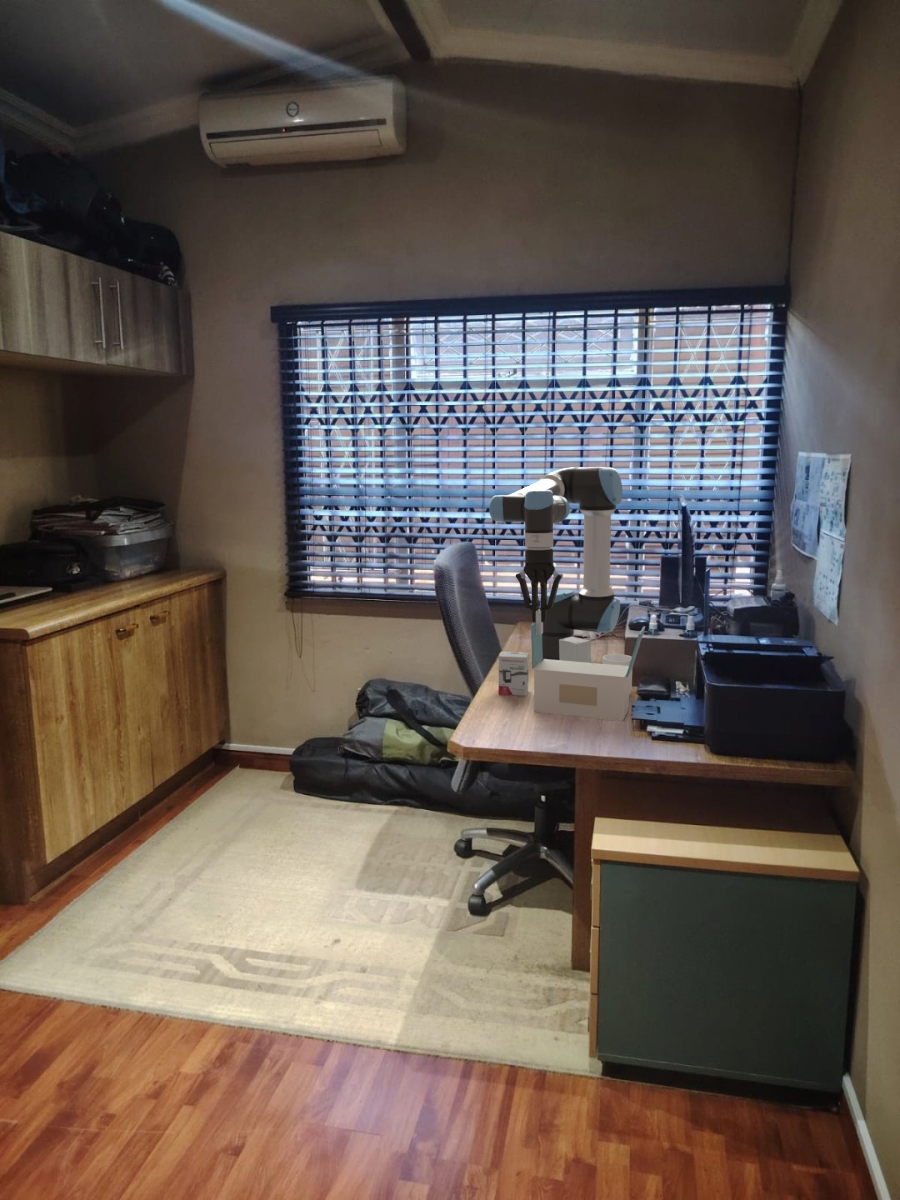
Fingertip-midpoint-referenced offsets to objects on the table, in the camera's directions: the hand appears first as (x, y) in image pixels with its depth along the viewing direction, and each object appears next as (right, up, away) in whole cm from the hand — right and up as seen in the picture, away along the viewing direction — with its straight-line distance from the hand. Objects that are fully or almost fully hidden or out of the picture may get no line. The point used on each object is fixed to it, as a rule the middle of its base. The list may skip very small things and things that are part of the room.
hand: (539, 633), depth 212 cm
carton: (+11, -21, 0) cm, 24 cm away
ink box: (-6, -18, +16) cm, 25 cm away
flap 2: (+24, -4, -8) cm, 26 cm away
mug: (+24, -18, +13) cm, 33 cm away
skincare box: (+13, -17, +20) cm, 30 cm away
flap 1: (0, -3, +1) cm, 3 cm away
